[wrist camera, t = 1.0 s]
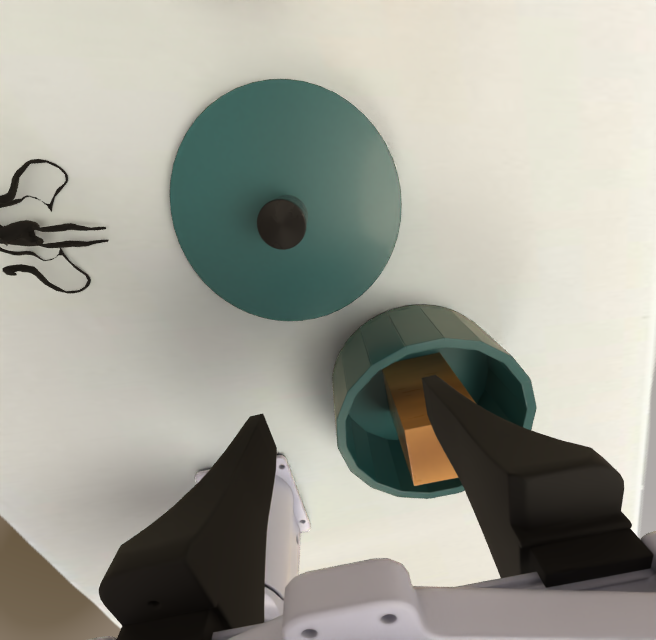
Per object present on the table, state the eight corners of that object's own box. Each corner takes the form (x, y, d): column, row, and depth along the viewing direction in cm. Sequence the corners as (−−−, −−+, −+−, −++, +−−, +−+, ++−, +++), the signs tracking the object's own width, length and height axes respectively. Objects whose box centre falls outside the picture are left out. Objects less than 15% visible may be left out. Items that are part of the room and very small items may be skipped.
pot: (495, 424, 28) (534, 478, 23) (348, 454, 29) (356, 513, 24) (490, 286, 23) (539, 317, 18) (314, 326, 24) (314, 366, 19)
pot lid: (410, 291, 23) (434, 319, 18) (222, 333, 24) (199, 372, 19) (378, 54, 18) (400, 11, 13) (137, 118, 19) (77, 99, 14)
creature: (103, 163, 20) (-63, 152, 18) (65, 160, 16) (-165, 145, 14) (126, 287, 23) (-15, 289, 21) (99, 316, 19) (-85, 323, 17)
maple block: (444, 399, 26) (487, 472, 20) (389, 411, 27) (414, 486, 20) (439, 352, 25) (484, 413, 18) (380, 364, 25) (404, 430, 18)
